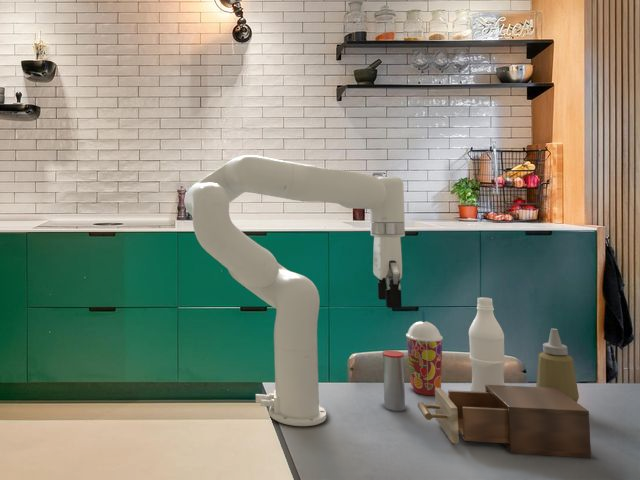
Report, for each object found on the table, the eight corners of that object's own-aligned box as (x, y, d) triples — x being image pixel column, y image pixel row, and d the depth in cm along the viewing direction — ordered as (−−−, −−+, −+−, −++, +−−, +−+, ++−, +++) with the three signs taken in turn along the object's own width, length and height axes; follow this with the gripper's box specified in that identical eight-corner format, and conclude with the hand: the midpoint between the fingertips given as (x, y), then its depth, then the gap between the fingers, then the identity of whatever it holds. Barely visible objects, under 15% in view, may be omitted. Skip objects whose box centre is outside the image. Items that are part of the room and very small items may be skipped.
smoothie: (403, 385, 145) (401, 306, 146) (438, 386, 144) (435, 307, 144) (413, 396, 136) (410, 313, 137) (449, 398, 135) (446, 314, 136)
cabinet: (511, 452, 107) (509, 406, 107) (486, 425, 119) (484, 384, 120) (591, 457, 104) (588, 410, 105) (557, 429, 117) (555, 387, 117)
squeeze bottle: (575, 405, 129) (571, 326, 130) (584, 418, 122) (580, 334, 123) (533, 400, 133) (530, 323, 133) (539, 413, 125) (536, 331, 126)
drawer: (429, 441, 110) (427, 406, 111) (415, 418, 121) (413, 386, 122) (522, 447, 107) (521, 411, 107) (499, 423, 118) (498, 390, 119)
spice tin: (386, 410, 128) (384, 355, 129) (382, 403, 133) (380, 350, 133) (407, 411, 127) (405, 356, 128) (403, 404, 132) (401, 350, 132)
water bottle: (512, 416, 124) (508, 302, 125) (477, 414, 125) (473, 301, 126) (500, 404, 131) (496, 296, 132) (466, 402, 132) (462, 295, 133)
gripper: (364, 227, 141) (366, 296, 140) (377, 232, 124) (379, 310, 123) (396, 227, 140) (398, 297, 139) (413, 232, 123) (415, 311, 122)
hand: (389, 303), depth 131 cm, fingers open, 9 cm apart
